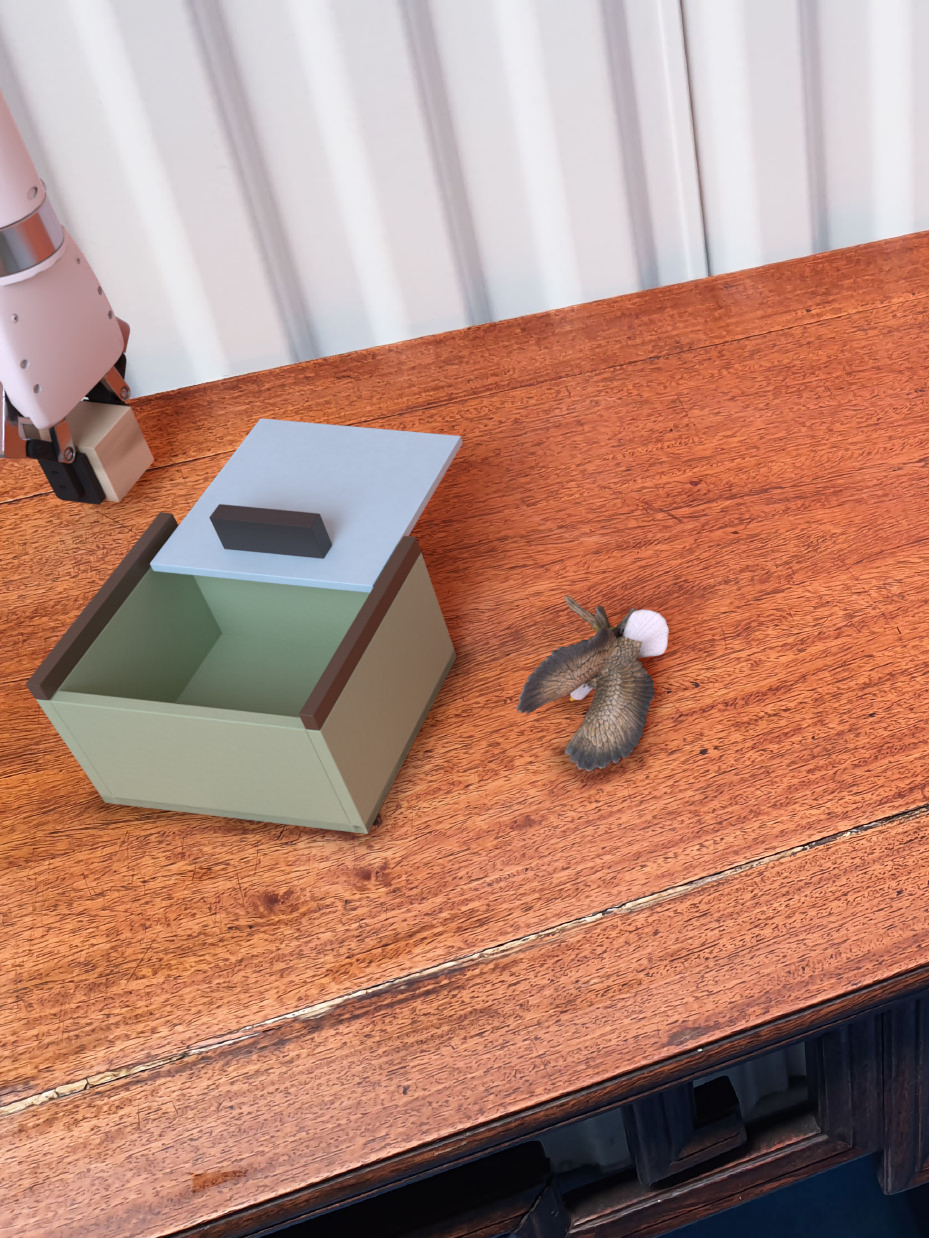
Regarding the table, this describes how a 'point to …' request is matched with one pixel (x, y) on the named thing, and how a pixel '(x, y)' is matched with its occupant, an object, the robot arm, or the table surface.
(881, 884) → the table surface
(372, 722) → the case
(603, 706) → the eagle figurine
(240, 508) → the light blue lid
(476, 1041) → the table surface
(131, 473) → the block
